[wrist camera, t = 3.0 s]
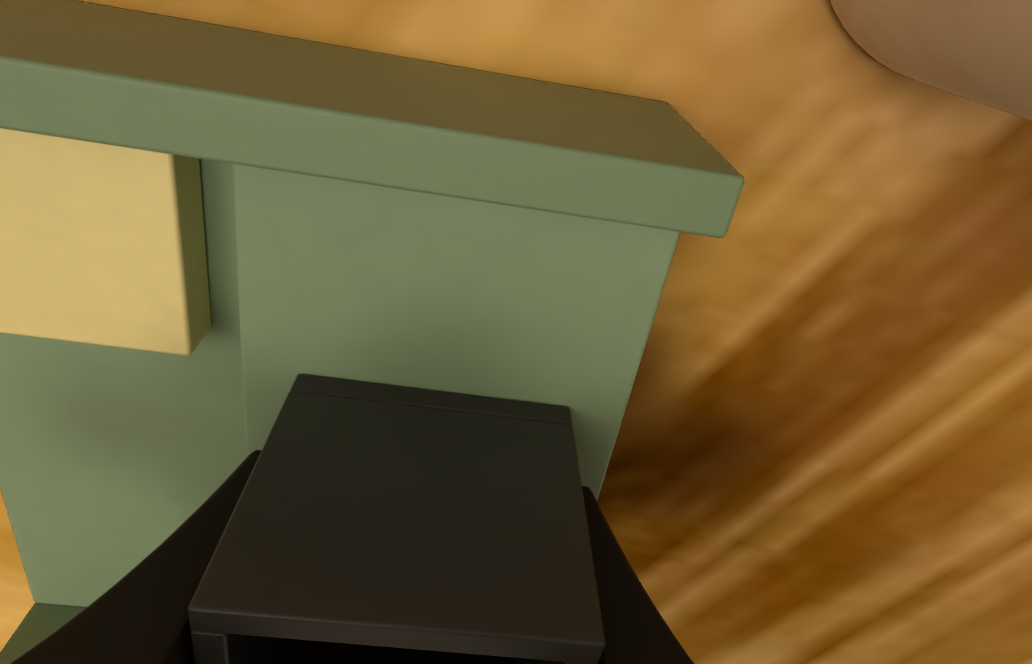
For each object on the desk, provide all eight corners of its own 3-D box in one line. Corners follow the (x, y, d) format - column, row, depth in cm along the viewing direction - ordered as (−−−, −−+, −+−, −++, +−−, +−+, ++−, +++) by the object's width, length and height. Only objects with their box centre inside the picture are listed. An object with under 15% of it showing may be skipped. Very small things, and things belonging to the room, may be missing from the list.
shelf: (527, 621, 18) (534, 788, 15) (69, 580, 17) (-46, 752, 14) (669, 102, 11) (748, 178, 8) (-85, -29, 10) (-408, -11, 7)
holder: (525, 583, 14) (534, 838, 10) (297, 562, 13) (212, 819, 9) (570, 405, 11) (607, 644, 8) (297, 372, 11) (186, 608, 7)
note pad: (213, 328, 12) (190, 357, 11) (-12, 299, 12) (-54, 327, 11) (197, 113, 10) (169, 130, 9) (-72, 70, 10) (-128, 83, 9)
